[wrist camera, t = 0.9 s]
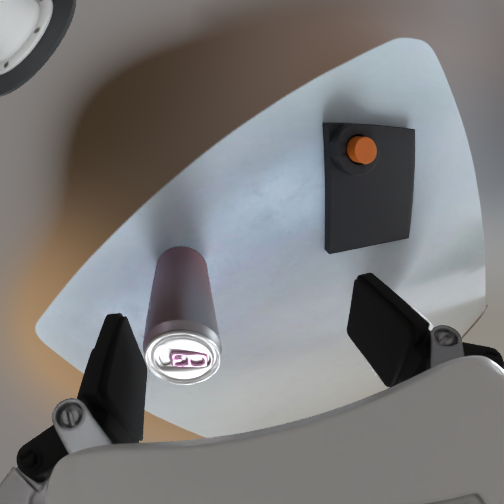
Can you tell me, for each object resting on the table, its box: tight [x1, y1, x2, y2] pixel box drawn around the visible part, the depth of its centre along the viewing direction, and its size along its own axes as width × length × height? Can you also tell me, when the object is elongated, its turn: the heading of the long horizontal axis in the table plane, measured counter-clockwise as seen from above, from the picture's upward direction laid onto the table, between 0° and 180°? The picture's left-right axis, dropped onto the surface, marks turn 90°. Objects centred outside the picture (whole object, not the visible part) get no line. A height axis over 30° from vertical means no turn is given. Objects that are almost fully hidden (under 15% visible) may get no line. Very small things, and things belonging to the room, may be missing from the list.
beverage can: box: [143, 247, 222, 385], centre depth 25 cm, size 6×6×15 cm
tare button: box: [347, 136, 377, 164], centre depth 27 cm, size 3×3×2 cm
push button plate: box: [323, 123, 415, 254], centre depth 31 cm, size 16×14×3 cm
